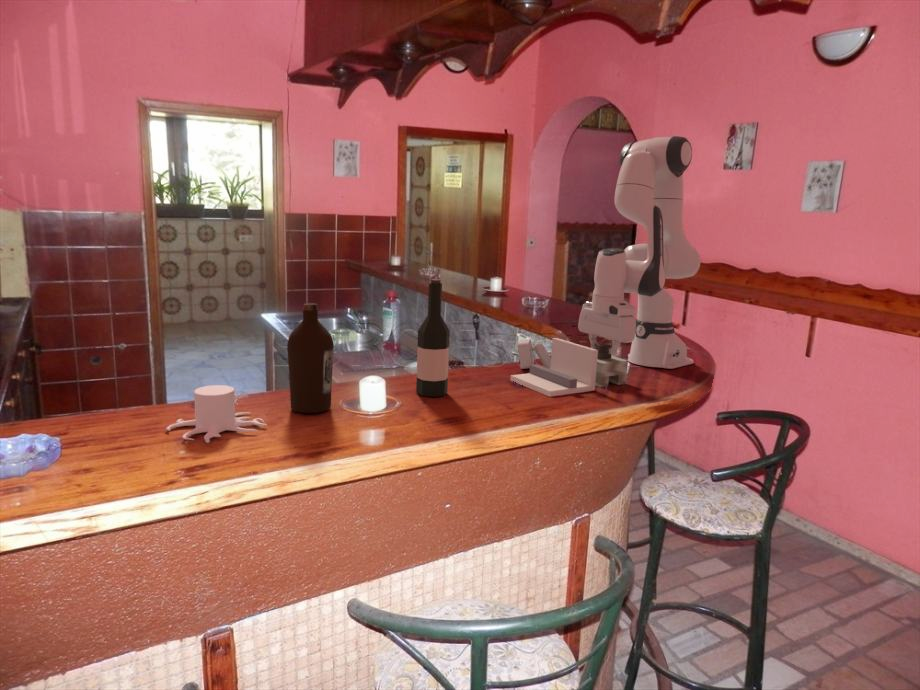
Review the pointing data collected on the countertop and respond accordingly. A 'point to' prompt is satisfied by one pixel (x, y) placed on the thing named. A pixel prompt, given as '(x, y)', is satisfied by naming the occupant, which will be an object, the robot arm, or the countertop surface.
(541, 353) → the white block with rod
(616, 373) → the cabinet block
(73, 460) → the countertop surface
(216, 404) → the tree stump
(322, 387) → the olive oil
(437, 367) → the wine bottle
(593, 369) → the board
